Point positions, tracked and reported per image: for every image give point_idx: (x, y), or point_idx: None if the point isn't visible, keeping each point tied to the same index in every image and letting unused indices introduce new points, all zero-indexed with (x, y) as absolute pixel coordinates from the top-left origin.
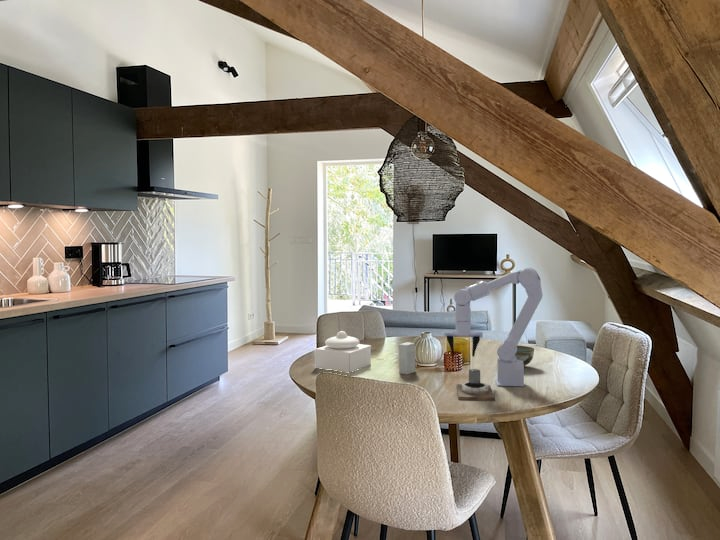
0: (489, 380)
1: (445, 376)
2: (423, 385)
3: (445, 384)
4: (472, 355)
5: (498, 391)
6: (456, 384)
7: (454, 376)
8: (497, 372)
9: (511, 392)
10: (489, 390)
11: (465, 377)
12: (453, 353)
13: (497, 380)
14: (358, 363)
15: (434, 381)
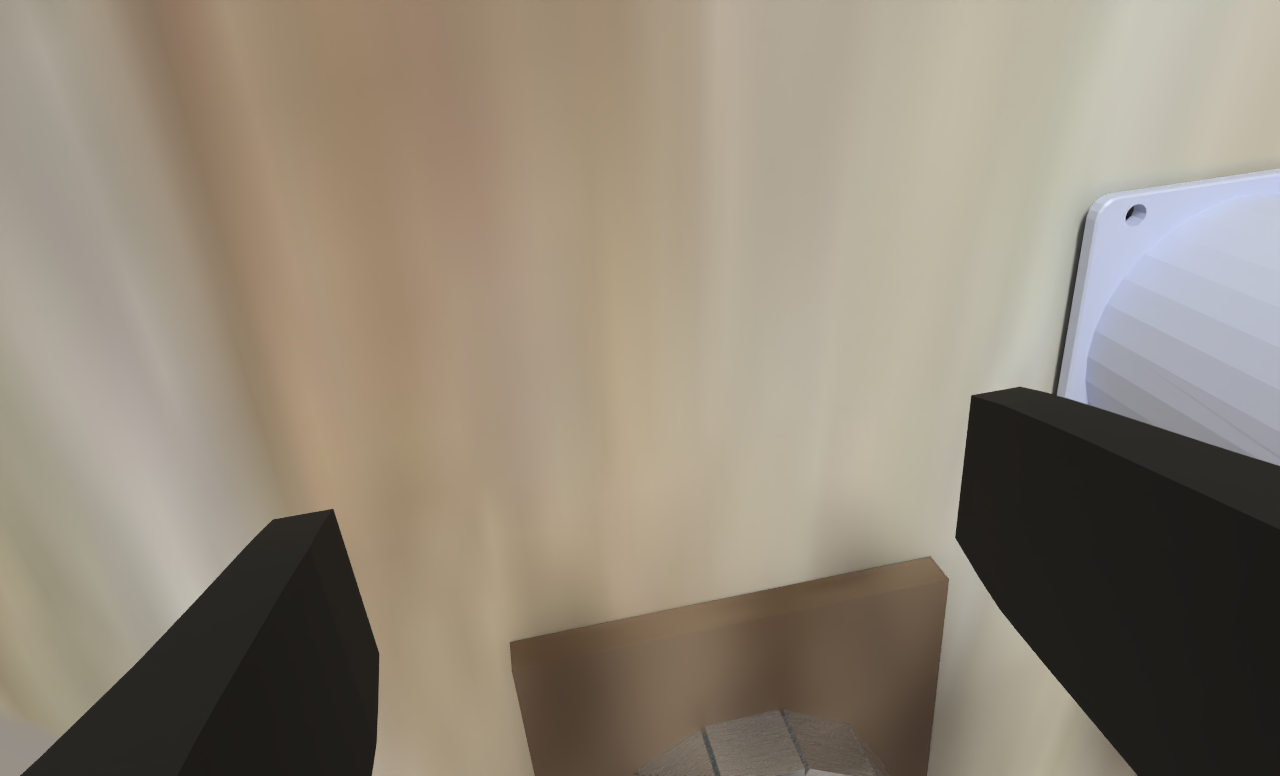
0: (1002, 188)
1: (166, 45)
2: (7, 714)
3: None
4: (972, 507)
5: (992, 657)
6: (515, 683)
7: (367, 5)
8: (1201, 427)
9: None
10: (901, 768)
11: (605, 51)
12: (356, 758)
13: (1102, 366)
14: None
15: (86, 472)
